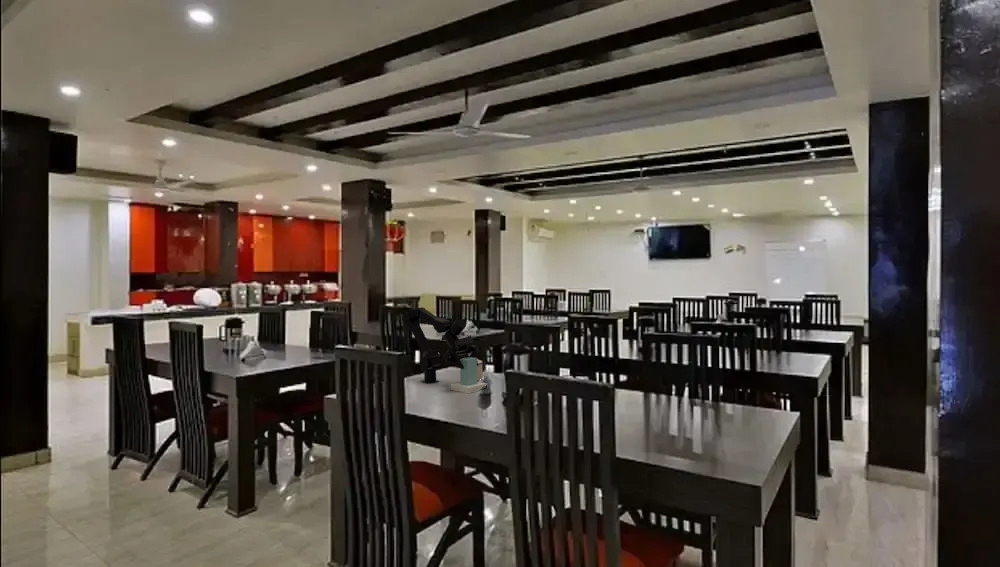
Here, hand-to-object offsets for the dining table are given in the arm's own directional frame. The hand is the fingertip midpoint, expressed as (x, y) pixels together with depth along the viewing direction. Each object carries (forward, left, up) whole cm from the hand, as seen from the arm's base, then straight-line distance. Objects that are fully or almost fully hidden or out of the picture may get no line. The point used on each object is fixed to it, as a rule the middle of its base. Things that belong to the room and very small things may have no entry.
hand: (470, 367), depth 277 cm
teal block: (-1, 0, -8) cm, 8 cm away
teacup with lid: (-19, +14, -11) cm, 26 cm away
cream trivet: (-1, 0, -11) cm, 11 cm away
